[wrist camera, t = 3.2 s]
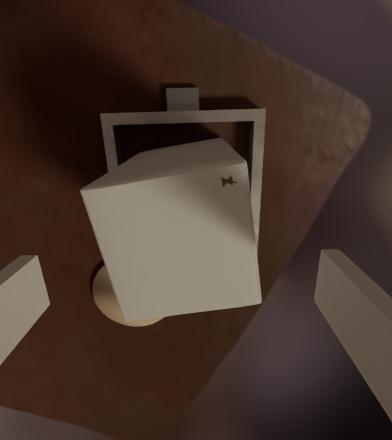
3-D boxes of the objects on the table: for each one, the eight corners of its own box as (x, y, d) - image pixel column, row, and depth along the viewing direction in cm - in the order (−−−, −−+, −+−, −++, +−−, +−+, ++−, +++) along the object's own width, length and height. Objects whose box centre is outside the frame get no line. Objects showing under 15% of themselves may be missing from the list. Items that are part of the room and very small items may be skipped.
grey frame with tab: (103, 91, 25) (96, 89, 24) (262, 86, 25) (267, 83, 23) (127, 266, 32) (123, 275, 30) (252, 263, 32) (256, 272, 30)
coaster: (87, 256, 32) (85, 258, 31) (172, 254, 31) (171, 256, 31) (100, 323, 35) (99, 327, 35) (176, 322, 35) (176, 325, 34)
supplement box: (135, 151, 27) (71, 184, 13) (222, 136, 27) (251, 154, 13) (155, 231, 31) (120, 327, 17) (233, 219, 30) (265, 307, 16)
